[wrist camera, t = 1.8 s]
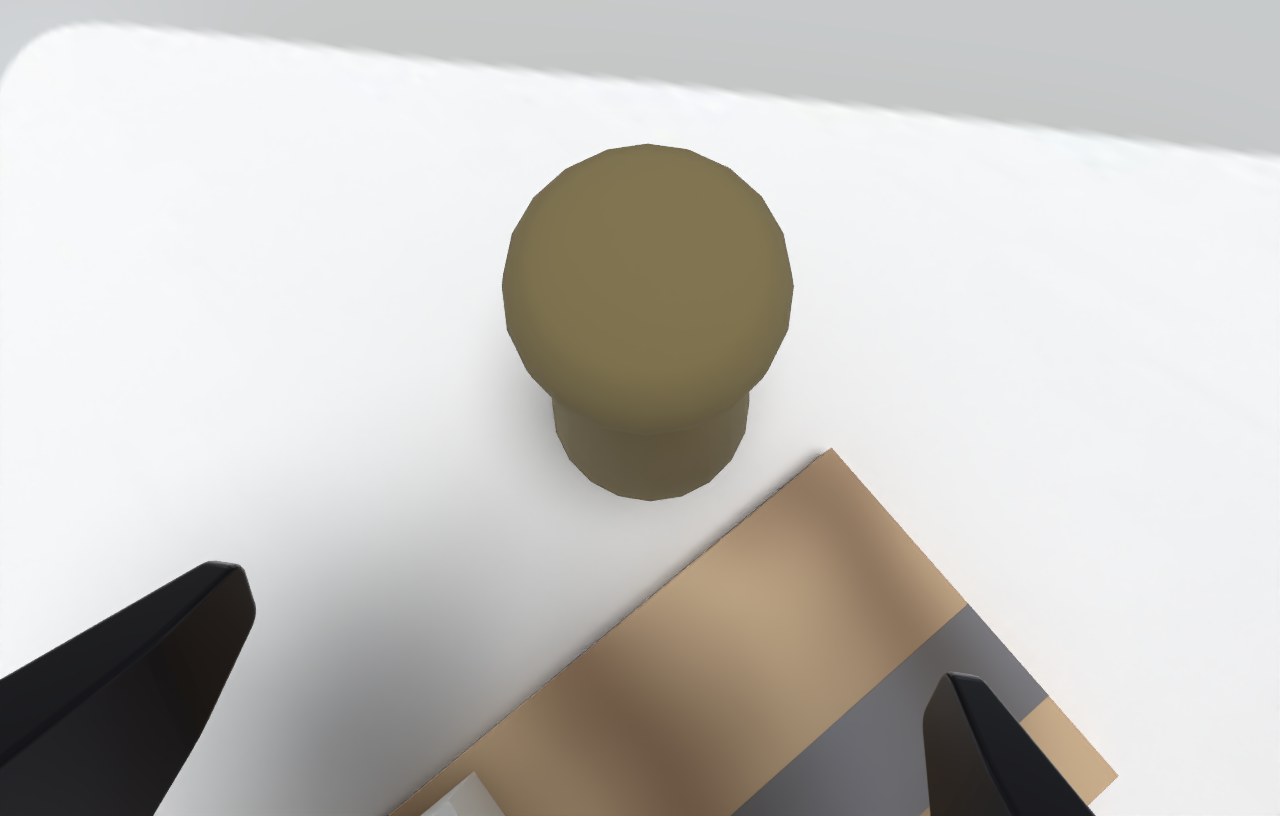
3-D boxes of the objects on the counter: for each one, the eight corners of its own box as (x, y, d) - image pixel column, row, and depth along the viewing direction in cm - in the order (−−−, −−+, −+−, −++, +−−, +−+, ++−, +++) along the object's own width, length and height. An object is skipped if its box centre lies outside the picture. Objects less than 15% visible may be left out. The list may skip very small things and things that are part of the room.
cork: (789, 424, 22) (918, 291, 11) (627, 541, 21) (598, 520, 11) (671, 273, 23) (686, 20, 12) (514, 380, 22) (384, 213, 12)
